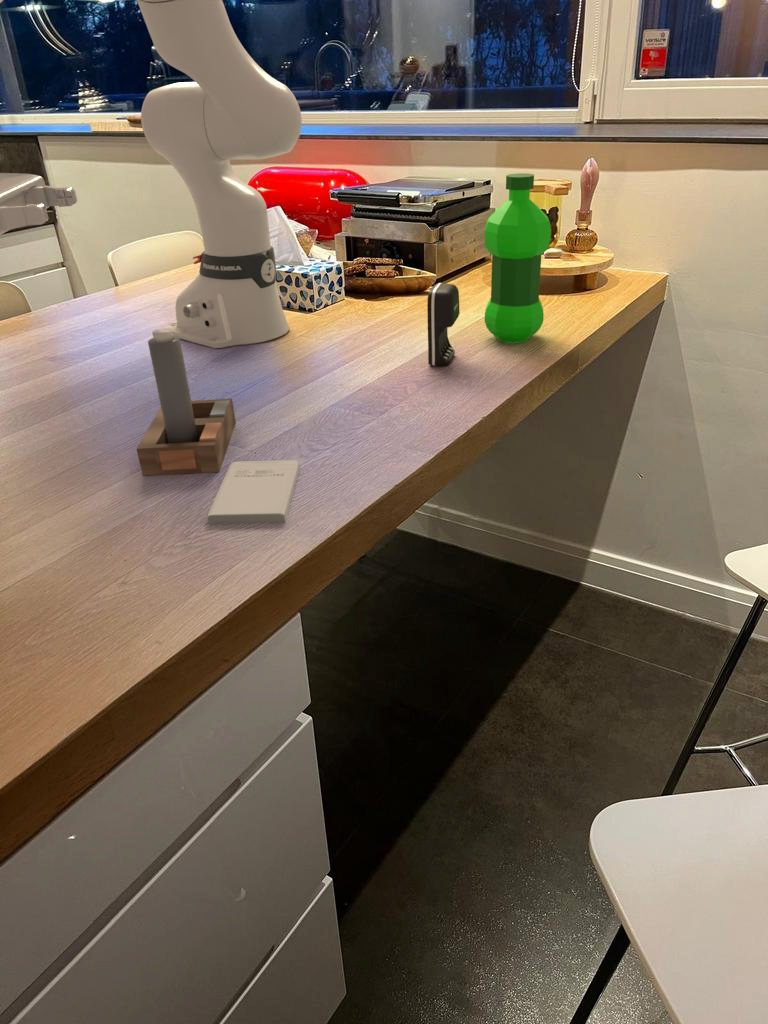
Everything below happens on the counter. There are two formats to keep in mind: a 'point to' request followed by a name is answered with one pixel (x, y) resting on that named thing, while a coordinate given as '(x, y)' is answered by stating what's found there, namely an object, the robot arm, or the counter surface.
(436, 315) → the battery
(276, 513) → the external hard drive
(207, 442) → the dock
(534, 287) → the plastic bottle
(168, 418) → the plug
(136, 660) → the counter surface
